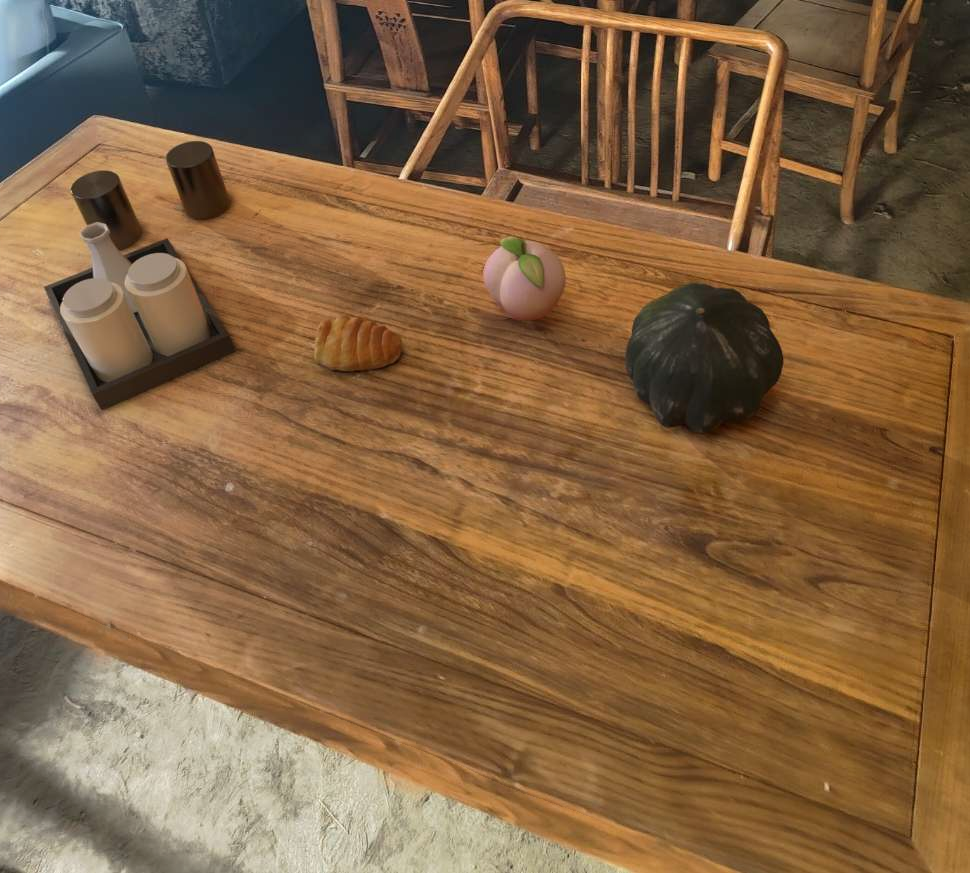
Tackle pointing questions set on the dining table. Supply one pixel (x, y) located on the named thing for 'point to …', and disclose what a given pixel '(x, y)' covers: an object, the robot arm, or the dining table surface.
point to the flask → (106, 257)
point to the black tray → (161, 365)
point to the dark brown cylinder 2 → (198, 180)
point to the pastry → (355, 344)
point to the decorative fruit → (524, 278)
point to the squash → (702, 357)
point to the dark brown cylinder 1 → (107, 206)
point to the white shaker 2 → (167, 303)
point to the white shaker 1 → (105, 328)
